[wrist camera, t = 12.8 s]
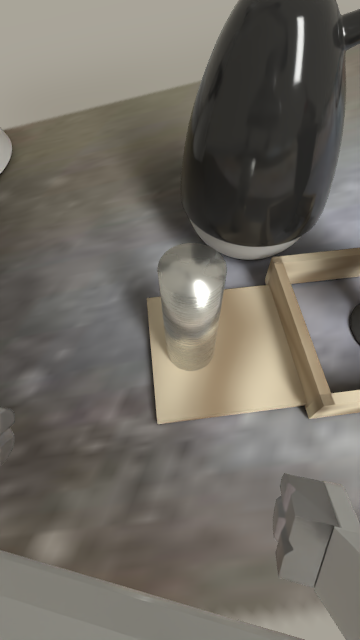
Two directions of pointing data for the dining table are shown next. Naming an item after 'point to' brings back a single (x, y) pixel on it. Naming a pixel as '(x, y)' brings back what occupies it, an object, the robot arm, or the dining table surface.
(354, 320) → the sundae
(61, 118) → the dining table surface
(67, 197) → the dining table surface
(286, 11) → the pump dispenser
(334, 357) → the dining table surface
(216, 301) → the wooden frame tray
